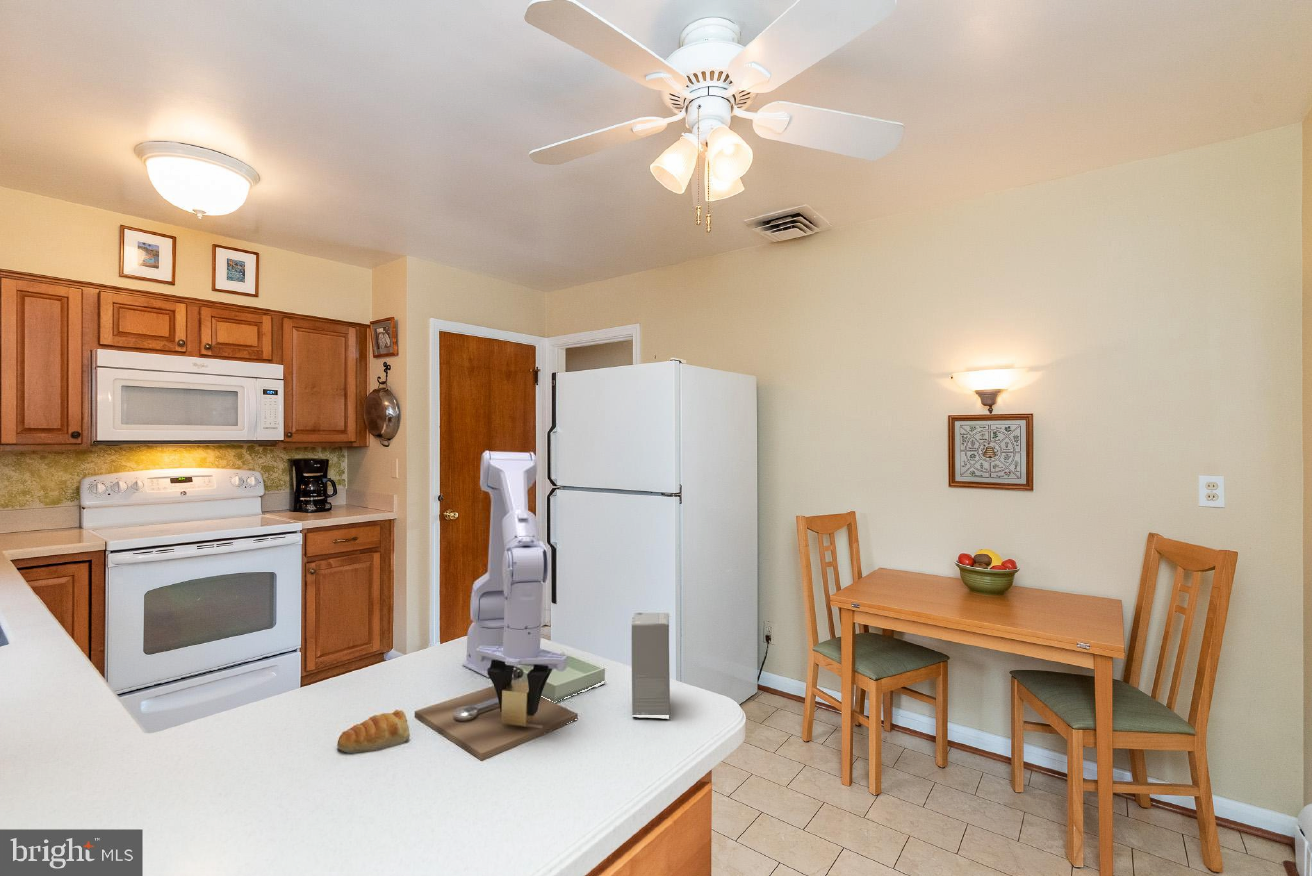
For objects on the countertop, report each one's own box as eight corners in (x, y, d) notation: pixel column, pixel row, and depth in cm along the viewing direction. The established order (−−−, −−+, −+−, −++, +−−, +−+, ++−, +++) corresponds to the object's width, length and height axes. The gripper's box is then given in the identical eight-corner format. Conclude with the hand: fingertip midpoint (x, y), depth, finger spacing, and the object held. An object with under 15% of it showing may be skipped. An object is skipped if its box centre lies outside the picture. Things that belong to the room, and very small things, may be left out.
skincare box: (669, 721, 99) (673, 624, 99) (626, 719, 99) (630, 623, 99) (669, 700, 107) (673, 611, 107) (629, 698, 107) (633, 609, 108)
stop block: (501, 723, 92) (502, 690, 92) (512, 712, 96) (513, 680, 96) (525, 726, 91) (526, 693, 91) (535, 715, 95) (536, 683, 95)
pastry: (343, 763, 83) (345, 735, 83) (331, 744, 88) (332, 717, 88) (413, 743, 89) (414, 717, 89) (397, 726, 94) (398, 701, 94)
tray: (513, 683, 112) (513, 667, 112) (562, 667, 121) (563, 652, 121) (554, 703, 104) (555, 685, 104) (604, 684, 113) (605, 668, 113)
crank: (463, 724, 92) (464, 687, 92) (447, 714, 95) (448, 679, 95) (526, 701, 101) (527, 668, 101) (510, 693, 104) (511, 661, 104)
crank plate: (414, 717, 97) (414, 710, 97) (508, 686, 110) (508, 680, 110) (481, 760, 84) (481, 752, 84) (577, 720, 98) (577, 713, 98)
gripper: (467, 626, 91) (463, 716, 91) (558, 636, 88) (554, 728, 88) (488, 614, 98) (484, 698, 98) (573, 622, 95) (569, 708, 95)
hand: (518, 711), depth 94 cm, fingers closed on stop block, 4 cm apart
